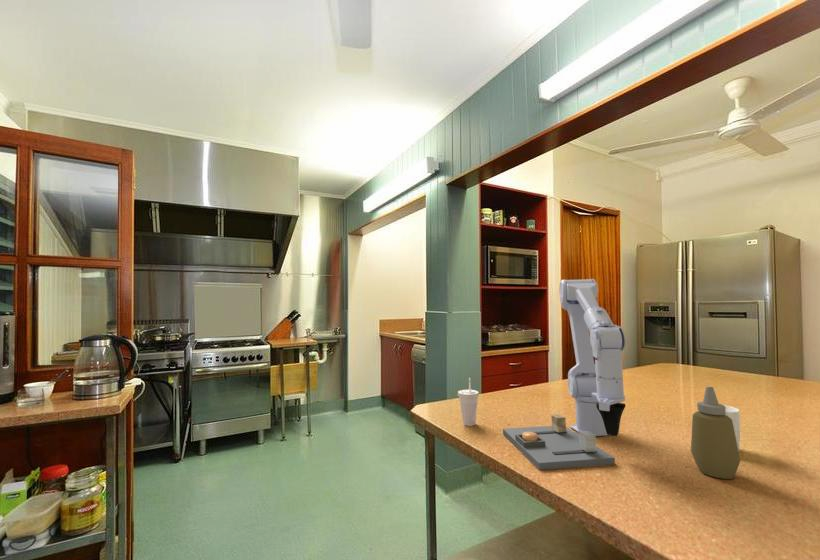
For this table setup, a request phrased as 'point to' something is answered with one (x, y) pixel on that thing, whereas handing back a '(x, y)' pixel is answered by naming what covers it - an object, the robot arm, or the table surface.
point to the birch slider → (558, 423)
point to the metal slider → (587, 441)
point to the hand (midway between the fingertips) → (612, 434)
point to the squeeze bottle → (714, 439)
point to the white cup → (734, 421)
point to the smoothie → (468, 405)
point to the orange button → (529, 436)
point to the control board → (556, 449)
